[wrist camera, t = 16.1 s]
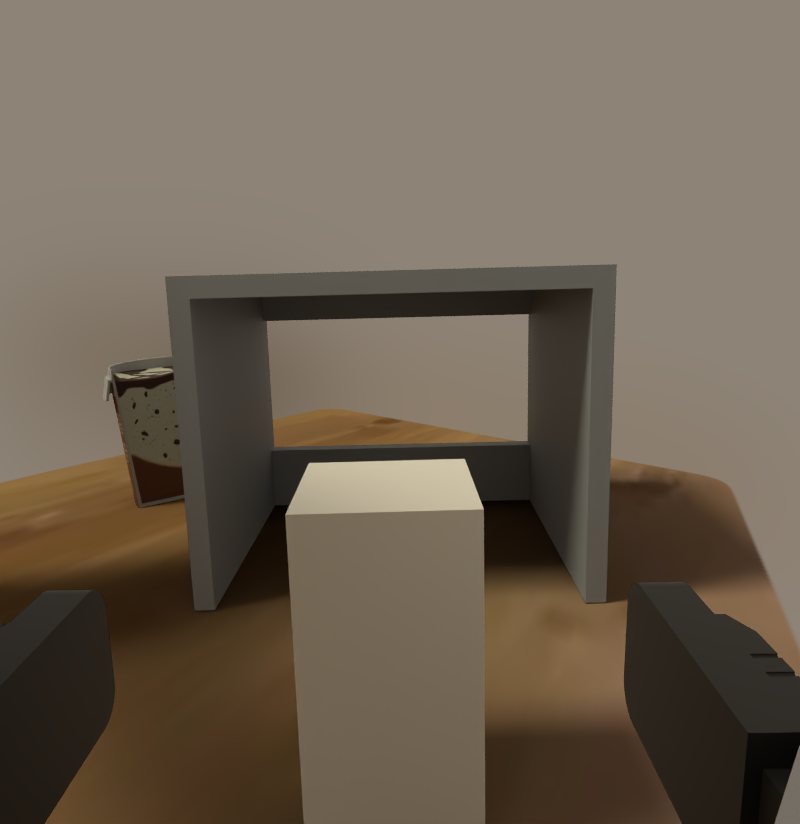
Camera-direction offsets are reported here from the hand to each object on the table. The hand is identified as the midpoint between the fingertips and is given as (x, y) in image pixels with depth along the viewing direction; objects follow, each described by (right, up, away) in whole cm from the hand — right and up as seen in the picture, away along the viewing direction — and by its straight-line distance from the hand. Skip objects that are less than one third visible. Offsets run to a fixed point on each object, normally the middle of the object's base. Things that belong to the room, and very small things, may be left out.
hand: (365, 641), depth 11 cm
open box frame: (+1, -4, +32) cm, 32 cm away
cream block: (0, -8, +11) cm, 14 cm away
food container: (-16, -2, +45) cm, 48 cm away
